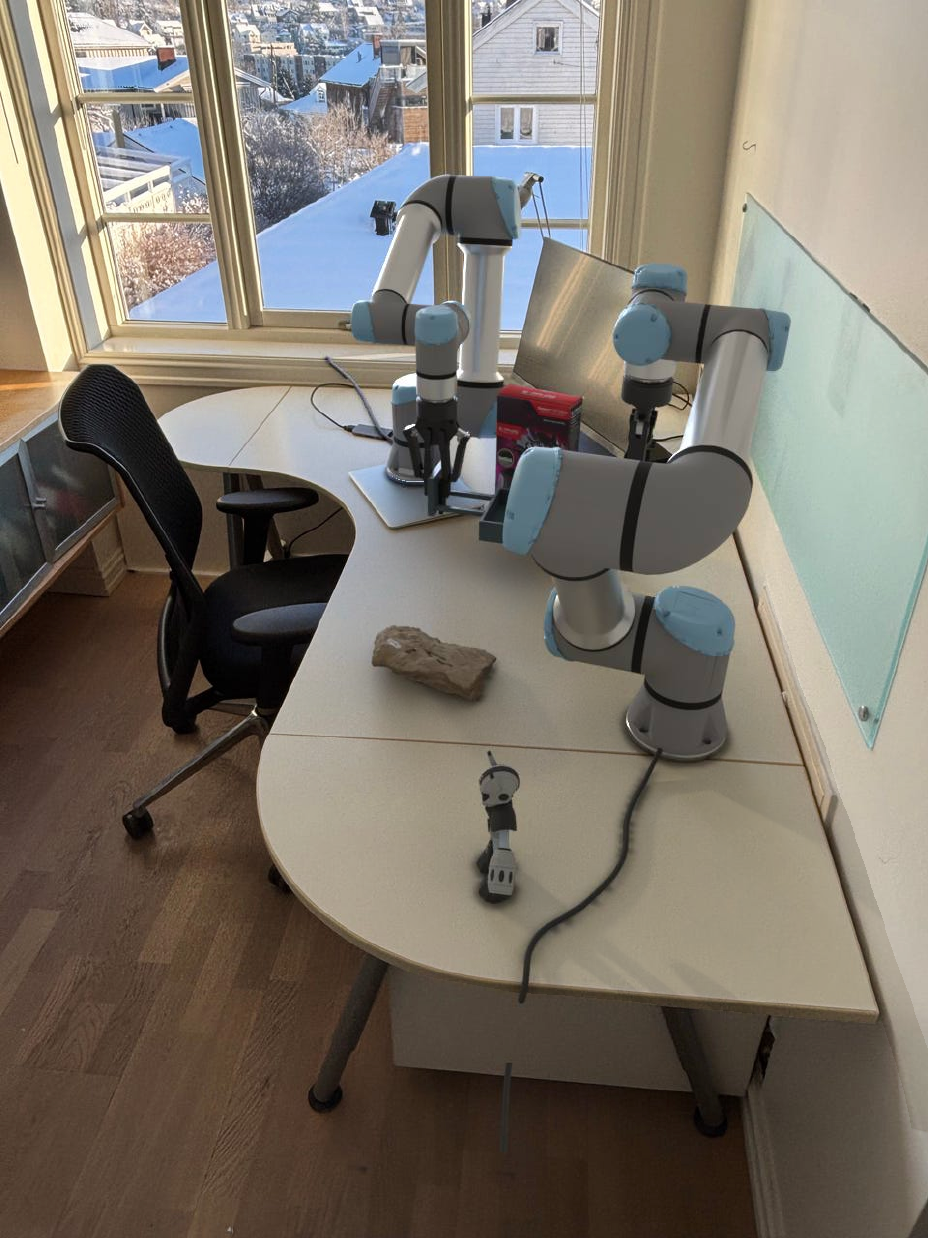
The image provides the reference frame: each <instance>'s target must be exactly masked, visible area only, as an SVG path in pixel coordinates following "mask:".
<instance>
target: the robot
mask: <svg viewBox="0 0 928 1238" xmlns="http://www.w3.org/2000/svg"><path fill="white" fill-rule="evenodd" d="M486 753H487V757H488V760H489V763H490V765H491V766H489V767H488V768H486V769H485V770H484V771H483V772H482V773H481V775H480V777H479V779H478V784H479V785H478V787H479V791H480V794H481V804H482V805H483V806H484V810H485V812H486V814H487V817H488V818H487V820H486V821H487V832H488V833H489V836H490V837H489V838H490V840H489V841H488V843H487V844H486V848H485V849H484V850H483V852H482V853H481V854H480V855H479V857H478V859H477V861H476V862H475V864H476V866H477V868H478V870H479V872H480V873H482V874H484V875H485V876H484V877H483V879H482V881H481V883H480V886H479V889H478V895H479V896H480V897H481V898H482V899H483V900H484V901H485V902H489V903H492V904H495V903H496V904H497V903H502V902H503V901H505V900H508V899H509V898H512V895H513V892H514V887H515V879H516V874H517V861H516V860H517V859H516V856H515V851H513V850H512V848H511V844H510V831H513V832H517V831H518V823H517V814H516V811H515V808H514V806H513V799H512V798H513V797H514V795H515V793H516V792H517V791H518V790H519V788H520V786H521V779H520V775H519V772H517V770H516V769H515V768H513V767H511V766H510V765H507V764H505V763H498V762H497V761H496V759H495V757H494V755H493V753H492V751H491V750H488V751H487V752H486Z"/></svg>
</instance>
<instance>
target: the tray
mask: <svg viewBox="0 0 928 1238" xmlns="http://www.w3.org/2000/svg"><path fill="white" fill-rule="evenodd" d="M441 480H442V474H441V460H440V462H439V463H438V465H437V466H436V467H435V469H434V470H433V471H432V473H431V474H430V476H429V477H428V496H427V517H435V516H436V514H437V513H438V511H442V512H444V513H451V514H458V515H464V516H472V517H479V518H480V519H479V521H478V541H480V542H487V543H495V544H501V545H504V544H503V525H504V518H505V511H506V506H507V501H508V496H509V492H510V489H507V488H500V487H498V489H497V490H496V492H495V491H494V494H491V493H490V494H489V493H483V492H475V491H467V490H460V489H453V488H451V494H450V496H449V497H455V498H456V497H458V498H464V499H473V500H479V501H486V502H487V501H488V502H489V503H488V505H487V506H486V508H485V510H483V509H476V508H469V507H461V506H454V505H448V504H446V505H441V504H438V484H439V483H440V481H441Z"/></svg>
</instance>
